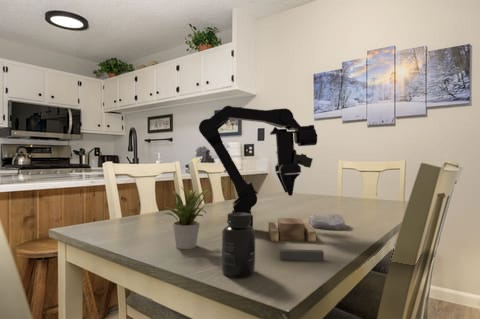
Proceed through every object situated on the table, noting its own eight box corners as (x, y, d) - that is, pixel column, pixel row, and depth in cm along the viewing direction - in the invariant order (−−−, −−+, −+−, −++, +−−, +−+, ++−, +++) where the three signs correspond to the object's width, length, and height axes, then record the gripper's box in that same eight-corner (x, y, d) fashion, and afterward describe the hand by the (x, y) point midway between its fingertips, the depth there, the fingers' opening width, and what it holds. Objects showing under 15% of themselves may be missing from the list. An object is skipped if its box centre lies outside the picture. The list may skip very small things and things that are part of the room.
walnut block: (280, 240, 88) (280, 223, 88) (277, 233, 96) (277, 218, 96) (304, 241, 87) (304, 223, 87) (299, 234, 95) (300, 218, 95)
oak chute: (271, 241, 86) (271, 230, 86) (268, 231, 98) (268, 222, 98) (315, 242, 85) (315, 231, 85) (307, 232, 97) (307, 222, 97)
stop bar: (280, 259, 70) (280, 251, 70) (279, 257, 71) (279, 249, 71) (323, 260, 70) (323, 251, 70) (321, 258, 71) (321, 249, 71)
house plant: (225, 241, 85) (226, 183, 85) (206, 256, 71) (206, 188, 72) (179, 237, 89) (180, 182, 89) (153, 251, 76) (154, 185, 76)
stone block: (347, 235, 101) (340, 223, 111) (348, 222, 100) (341, 211, 110) (311, 235, 102) (308, 223, 112) (311, 222, 101) (308, 211, 111)
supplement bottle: (259, 276, 60) (260, 216, 60) (226, 280, 58) (227, 217, 58) (248, 265, 66) (249, 210, 66) (218, 268, 64) (219, 211, 64)
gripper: (315, 144, 91) (319, 195, 91) (304, 146, 110) (307, 189, 110) (279, 146, 91) (282, 198, 91) (273, 148, 110) (276, 191, 110)
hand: (288, 193), depth 101 cm, fingers open, 9 cm apart
